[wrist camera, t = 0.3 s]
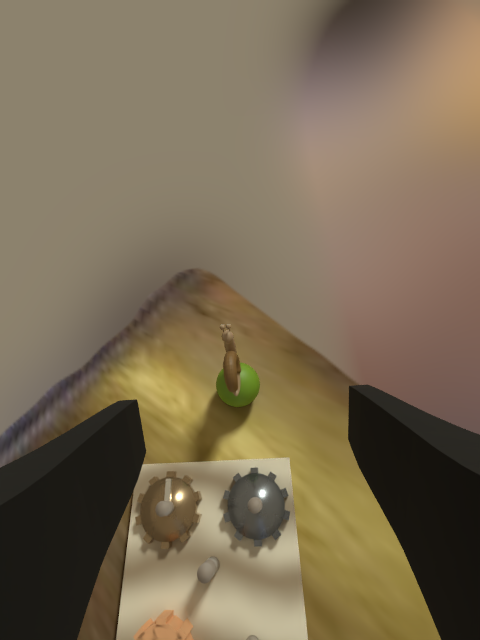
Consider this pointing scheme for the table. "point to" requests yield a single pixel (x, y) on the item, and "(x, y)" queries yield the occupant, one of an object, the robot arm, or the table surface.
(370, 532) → the table surface
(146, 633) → the idler gear
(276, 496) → the gear
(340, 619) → the table surface
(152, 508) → the gear
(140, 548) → the gear board
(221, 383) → the snail figurine
